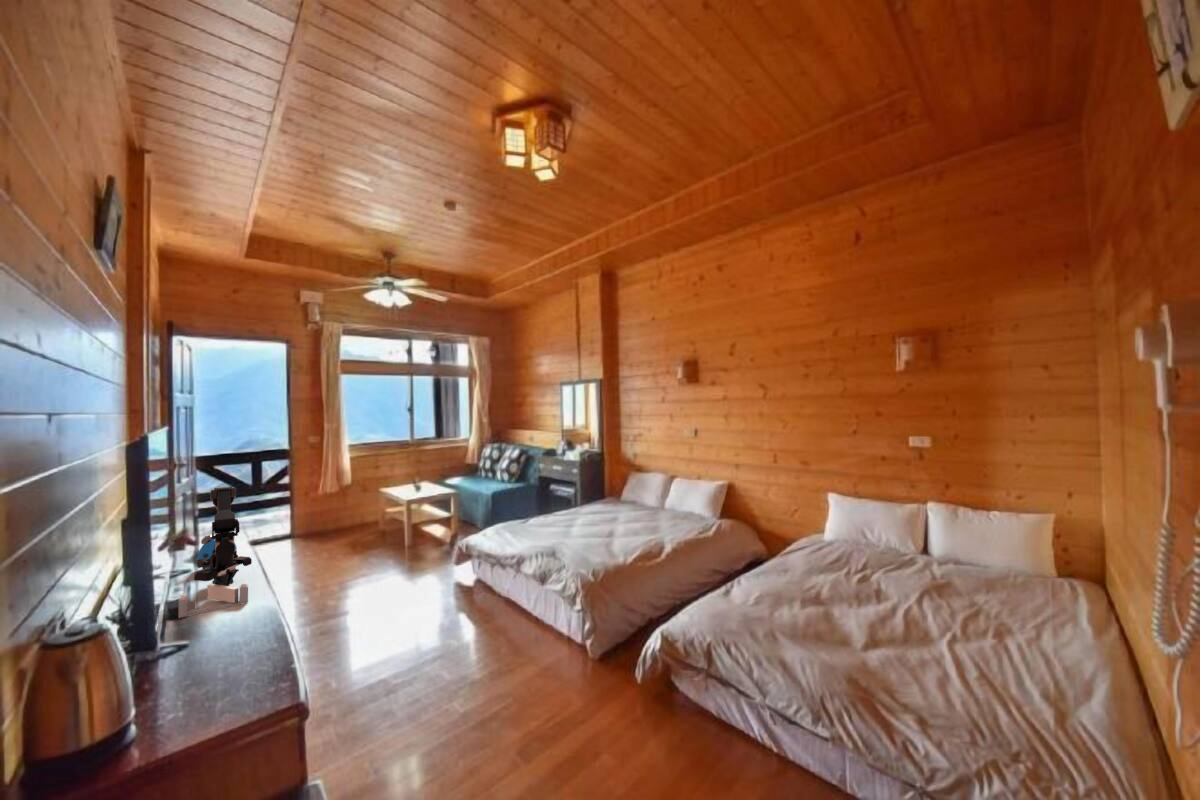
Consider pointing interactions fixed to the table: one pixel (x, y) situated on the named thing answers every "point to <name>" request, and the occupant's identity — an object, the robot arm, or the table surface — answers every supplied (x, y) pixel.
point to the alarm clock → (207, 548)
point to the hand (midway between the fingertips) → (224, 590)
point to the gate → (223, 593)
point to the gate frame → (188, 606)
